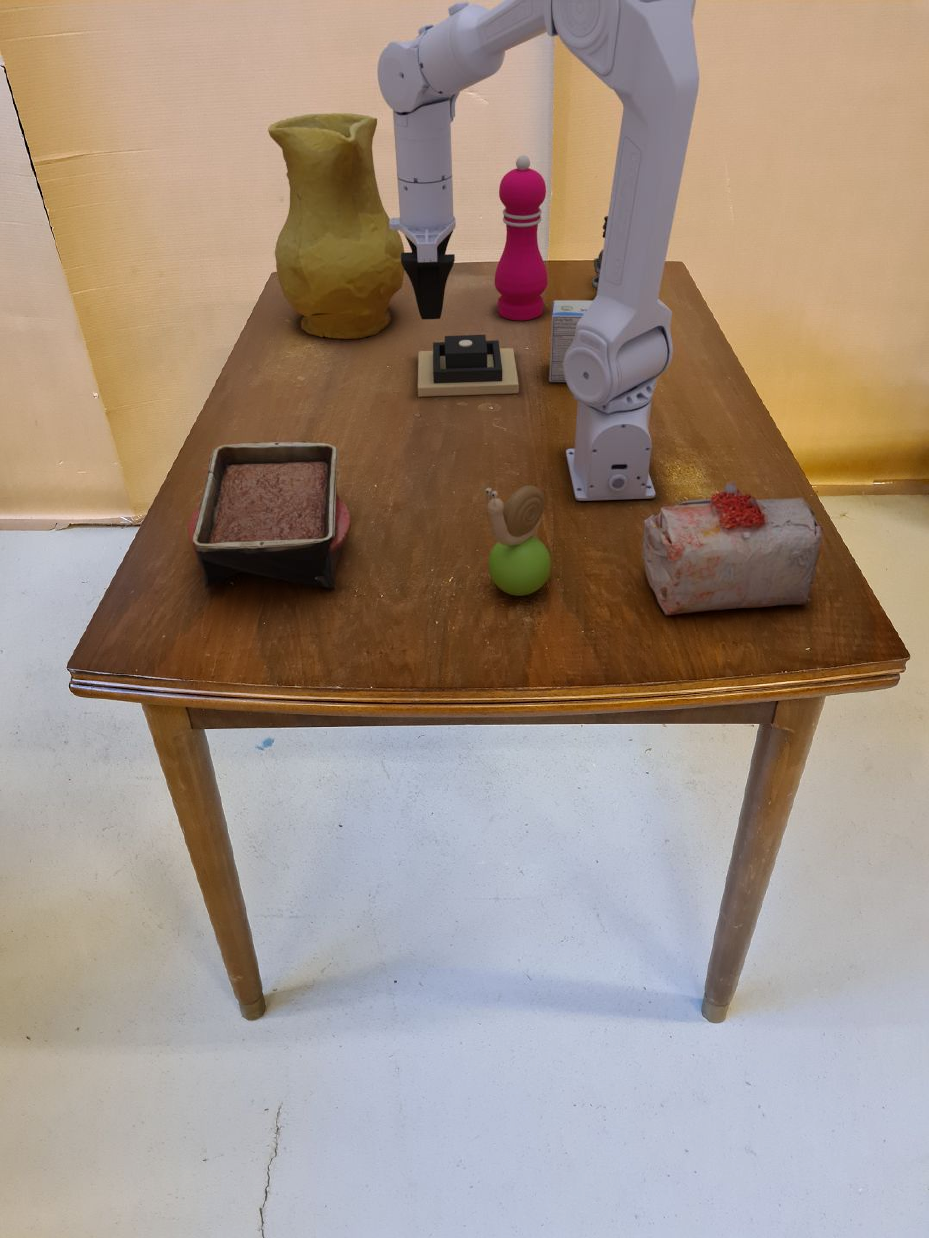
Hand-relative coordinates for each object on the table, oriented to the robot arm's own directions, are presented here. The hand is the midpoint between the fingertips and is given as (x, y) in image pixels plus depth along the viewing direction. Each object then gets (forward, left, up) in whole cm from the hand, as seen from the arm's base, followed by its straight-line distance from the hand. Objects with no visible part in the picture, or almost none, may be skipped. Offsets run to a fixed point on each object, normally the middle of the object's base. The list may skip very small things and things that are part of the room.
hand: (430, 304), depth 103 cm
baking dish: (-32, +15, -11) cm, 37 cm away
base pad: (+3, -4, -10) cm, 12 cm away
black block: (+3, -4, -9) cm, 10 cm away
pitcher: (+22, +12, -11) cm, 27 cm away
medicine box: (+2, -18, -11) cm, 21 cm away
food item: (-40, -25, -11) cm, 48 cm away
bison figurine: (+28, -26, -11) cm, 40 cm away
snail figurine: (-39, -7, -11) cm, 41 cm away
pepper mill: (+22, -12, -11) cm, 27 cm away
